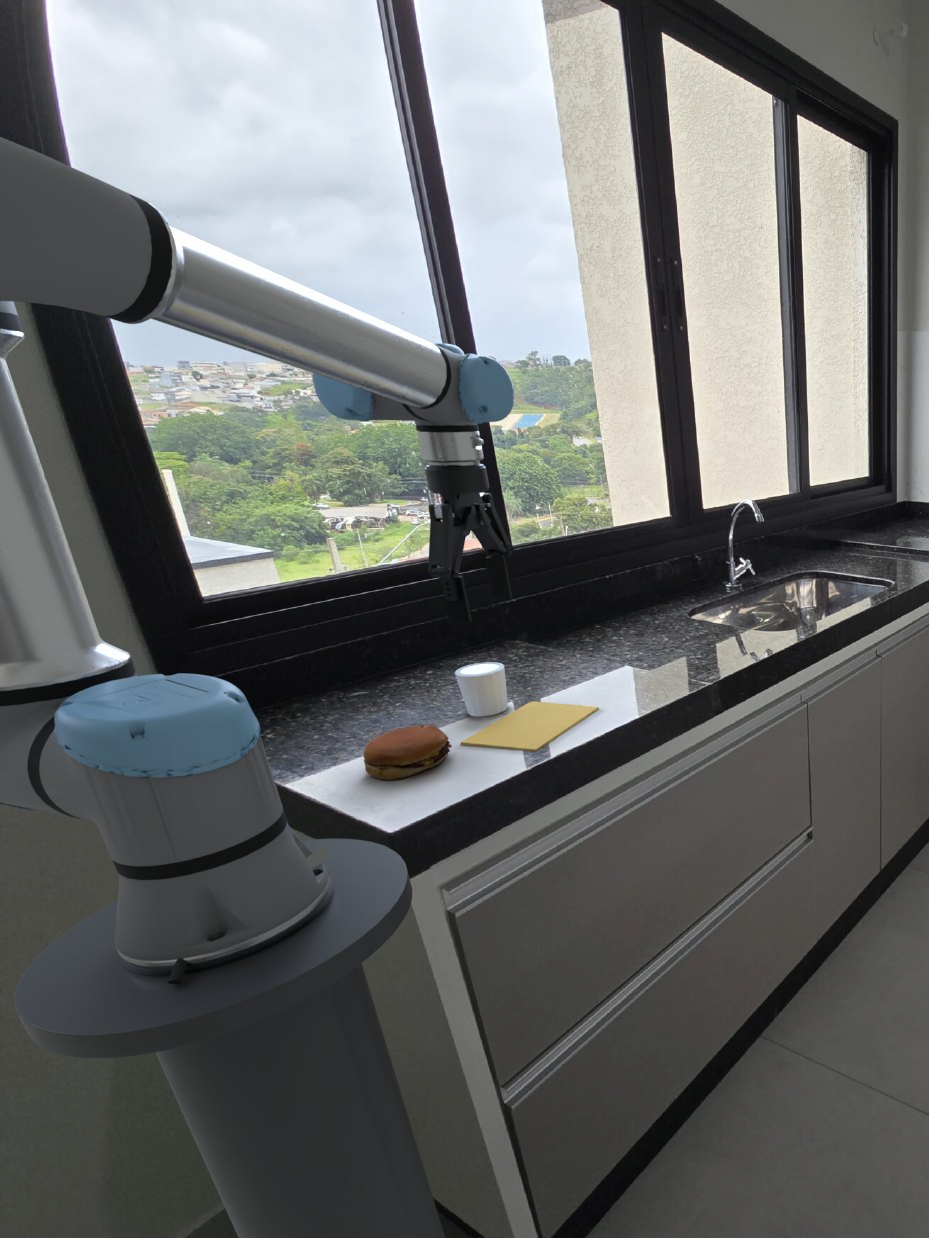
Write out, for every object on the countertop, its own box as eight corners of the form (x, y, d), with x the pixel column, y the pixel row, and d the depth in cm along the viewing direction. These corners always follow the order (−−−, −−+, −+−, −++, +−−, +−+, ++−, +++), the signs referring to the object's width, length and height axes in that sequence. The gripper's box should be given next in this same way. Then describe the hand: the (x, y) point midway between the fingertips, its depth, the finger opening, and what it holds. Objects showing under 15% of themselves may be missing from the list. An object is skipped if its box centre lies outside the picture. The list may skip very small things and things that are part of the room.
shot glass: (478, 721, 114) (469, 678, 112) (454, 711, 118) (445, 670, 115) (520, 707, 120) (513, 666, 117) (497, 698, 123) (489, 658, 121)
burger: (353, 783, 96) (344, 751, 94) (388, 752, 104) (380, 722, 103) (436, 778, 97) (429, 746, 95) (464, 748, 106) (457, 718, 104)
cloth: (536, 752, 105) (535, 749, 105) (460, 744, 107) (460, 742, 107) (599, 709, 120) (598, 706, 120) (531, 703, 122) (531, 701, 121)
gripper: (436, 471, 93) (469, 632, 101) (519, 457, 117) (540, 589, 124) (374, 470, 93) (411, 633, 100) (469, 456, 116) (494, 589, 123)
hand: (482, 609), depth 112 cm, fingers open, 13 cm apart
